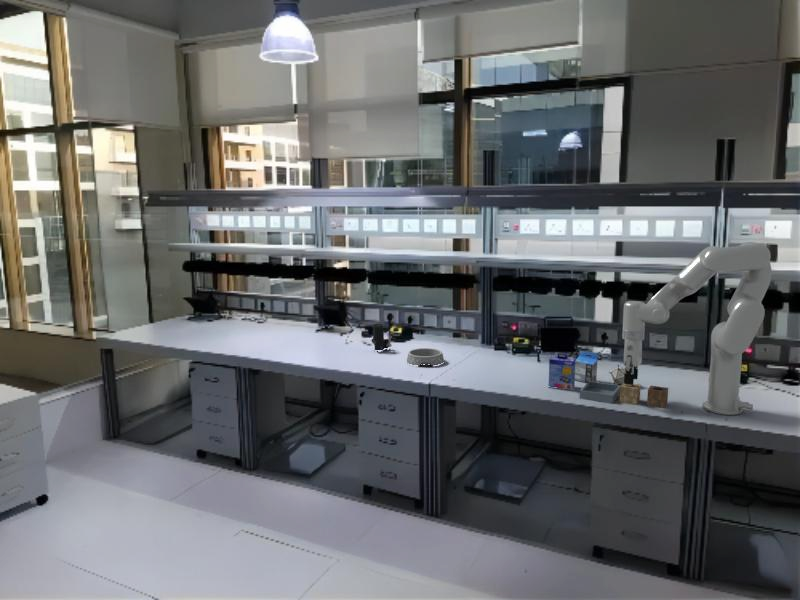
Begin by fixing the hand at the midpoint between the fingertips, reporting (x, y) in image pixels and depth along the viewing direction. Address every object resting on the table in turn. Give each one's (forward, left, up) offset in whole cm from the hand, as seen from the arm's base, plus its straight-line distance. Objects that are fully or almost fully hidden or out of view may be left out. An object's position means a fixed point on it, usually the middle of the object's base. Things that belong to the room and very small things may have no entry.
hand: (630, 381), depth 217 cm
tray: (+11, -1, -8) cm, 14 cm away
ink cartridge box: (+27, -4, -8) cm, 28 cm away
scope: (+125, -18, -8) cm, 127 cm away
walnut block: (-9, -1, -8) cm, 12 cm away
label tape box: (+21, -17, -8) cm, 28 cm away
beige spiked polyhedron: (+7, -19, -8) cm, 22 cm away
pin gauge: (0, 0, -8) cm, 8 cm away
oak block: (0, 0, -8) cm, 8 cm away
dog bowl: (+94, -10, -8) cm, 95 cm away
